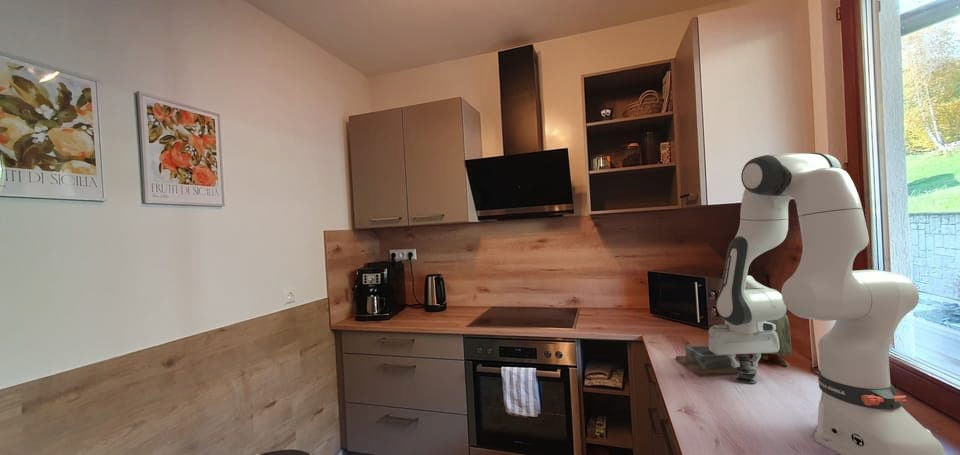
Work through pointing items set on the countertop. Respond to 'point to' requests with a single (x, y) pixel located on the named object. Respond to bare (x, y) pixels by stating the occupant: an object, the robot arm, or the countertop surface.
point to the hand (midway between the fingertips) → (744, 366)
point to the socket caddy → (706, 362)
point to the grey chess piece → (745, 370)
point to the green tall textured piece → (782, 338)
